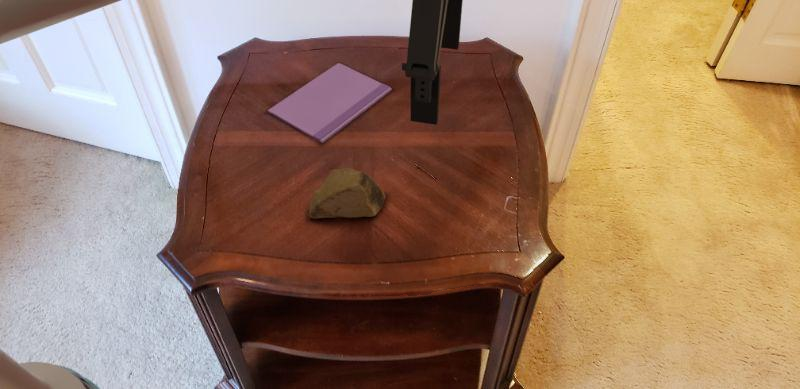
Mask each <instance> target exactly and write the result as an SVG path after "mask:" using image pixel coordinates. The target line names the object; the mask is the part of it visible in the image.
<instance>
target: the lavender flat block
mask: <svg viewBox="0 0 800 389" xmlns="http://www.w3.org/2000/svg"><path fill="white" fill-rule="evenodd" d="M391 91H393V88H391V87H390V86H389V85H387V84H385V83H382V82H379V81H377V80H376V79H374V78H371V77H369V76H367V75H366V74H363V73H361V72H359V71H357V70H355V69H353V68H352V67H349V66H346V65H344V64H342V63H340V62H338V63H336V64H334V65H333V66H331V67H330V68H328V69H327V70H326V71H324V72H323V73H321V74H320V75H318V76H316V77H315V78H313V79H312V80H310V81H309V82H308V83H306V84H304V85H303V86H302V87H300V88H298V89H297V90H296V91H294V92H293V93H292V94H290V95H288V96H287V97H285V98H284V99H282V100H281V101H279V102H278V103H276V104H275V105H273V106H272V107H270V108H269V109H267V112H268V113H269V114H271V115H272V116H274V117H275V118H278V119H279V120H281V121H283V122H284V123H286V124H288V125H289V126H291V127H292V128H295V129H296V130H298V131H300V132H302V133H303V134H305V135H307V136H309V137H310V138H312V139H314V140H315V141H317V142H319V143H321V144H324V143H325V142H327V141H328V140H329V139H331V138H332V137H333V136H334V135H336V134H337V133H338V132H340V131H341V130H342V129H344V128H345V127H346V126H348V125H349V124H350V123H351V122H353V121H354V120H355V119H357V118H358V117H359V116H361V115H362V114H363V113H364V112H366V111H367V110H368V109H370V108H371V107H373V105H375V104H376V103H378V102H379V101H380V100H382V99H383V98H384V97H385V96H386V95H388V94H389V93H391Z"/></svg>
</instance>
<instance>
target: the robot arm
mask: <svg viewBox="0 0 800 389" xmlns="http://www.w3.org/2000/svg"><path fill="white" fill-rule="evenodd" d="M120 1H122V0H0V45H2V44H5V43H7V42H10V41H12V40H16V39H18V38H21V37H25V36H27V35H29V34H33V33H35V32H38V31H40V30H43V29H46V28H48V27H51V26H54V25H57V24H59V23H63V22H66V21H69V20H72V19H74V18H76V17H79V16H83V15H85V14H87V13H90V12H93V11H96V10H98V9H102V8H104V7H107V6H109V5H112V4H115V3H118V2H120ZM463 1H464V0H412V3H411V13H410V25H409V34H408V44H407V54H406V62H401V71H404V73H405V74H404V75H405V77H406V78H410V122H415V123H422V124H428V125H434V126H437V125H438V122H439V113H440V111H439V110H440V94H441V93H440V92H441V76H442V75H441V74H442V66H441V65H440V64H439V63H440V57H441V50H442V49H449V50H456V51H457V50H459V47H460V38H461V37H460V36H461V25H462V13H463ZM0 389H101V388H100V387H99V386H98V385H97V384H95V382H93V381H92V380H90V379H89V378H87V377H85V376H83V375H81V373H79V372H77V371H75V370H74V369H72V368H69V367H66V366H63V365H59V364H54V363H50V362H42V361H27V362H18V361H17V360H15V359H14V358H13V357H12V356H10V355H9V354H8V353H6V352H5V351H4V350H3V349H1V348H0Z"/></svg>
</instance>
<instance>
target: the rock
mask: <svg viewBox="0 0 800 389" xmlns="http://www.w3.org/2000/svg"><path fill="white" fill-rule="evenodd" d="M385 199H386V194H385V192H384V191H383V189H382V186H381V185H379V184H378V183H377V181H376V180H374V178H373V177H372V176H371V175H370V174H367V173H366V172H365V171H358V170H356V169H354V168H339V169H335V168H334V169H332V170H330V172H329V175H328V177H326V179H325V180H324V181H323V182H322V184H321V185H320V186H319V188H318V189H316V190H314V192H313V193H312V198H311V199H310V201H309V210H308V211H309V212H308V217H309V219H326V218H327V219H328V218H329V219H330V218H333V219H334V218H362V217H365V218H372V217H375V216H377V214H379V212H380V210H381V209H382V208H383V206H384V204H385Z"/></svg>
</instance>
